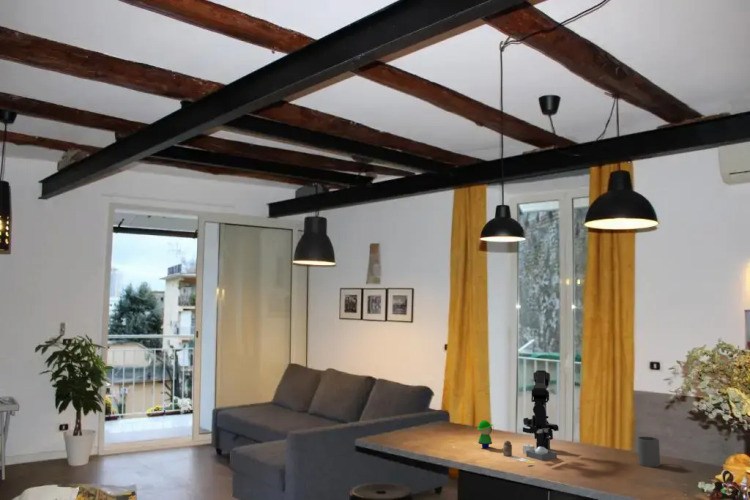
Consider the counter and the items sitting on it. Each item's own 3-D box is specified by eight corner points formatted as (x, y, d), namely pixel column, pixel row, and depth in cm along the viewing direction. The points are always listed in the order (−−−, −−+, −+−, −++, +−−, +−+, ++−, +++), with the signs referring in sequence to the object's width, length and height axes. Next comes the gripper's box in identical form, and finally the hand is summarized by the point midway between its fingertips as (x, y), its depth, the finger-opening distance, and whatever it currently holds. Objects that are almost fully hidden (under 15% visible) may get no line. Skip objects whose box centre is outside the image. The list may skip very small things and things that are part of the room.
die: (527, 452, 313) (527, 443, 313) (534, 453, 310) (534, 445, 310) (523, 453, 310) (523, 445, 310) (530, 454, 307) (530, 446, 307)
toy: (493, 452, 317) (493, 422, 319) (476, 451, 319) (476, 421, 321) (494, 448, 326) (493, 419, 328) (477, 447, 328) (476, 418, 329)
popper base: (541, 454, 307) (541, 448, 308) (556, 458, 299) (556, 452, 299) (526, 457, 302) (526, 450, 302) (541, 461, 294) (541, 454, 294)
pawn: (508, 454, 307) (508, 439, 307) (513, 455, 303) (513, 441, 304) (501, 455, 305) (501, 440, 306) (507, 456, 301) (507, 441, 302)
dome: (541, 456, 304) (541, 444, 305) (550, 458, 299) (550, 446, 300) (532, 457, 301) (532, 446, 302) (541, 459, 296) (541, 448, 297)
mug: (654, 468, 284) (652, 441, 286) (635, 464, 291) (633, 438, 293) (668, 463, 293) (667, 437, 294) (649, 460, 300) (648, 434, 301)
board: (527, 452, 316) (527, 450, 316) (560, 461, 297) (560, 458, 297) (497, 457, 306) (497, 454, 306) (529, 466, 287) (529, 463, 287)
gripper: (542, 410, 314) (542, 442, 313) (514, 412, 305) (515, 445, 303) (558, 413, 305) (559, 446, 303) (530, 415, 296) (531, 449, 294)
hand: (541, 446), depth 301 cm, fingers closed, pressing on dome
